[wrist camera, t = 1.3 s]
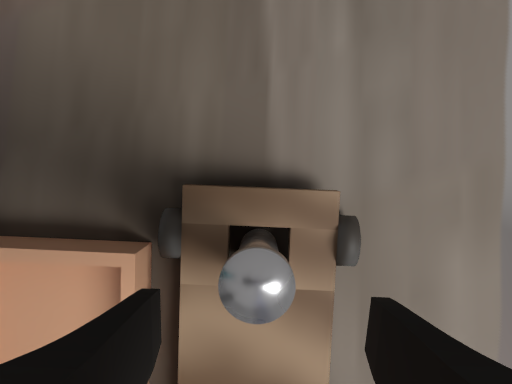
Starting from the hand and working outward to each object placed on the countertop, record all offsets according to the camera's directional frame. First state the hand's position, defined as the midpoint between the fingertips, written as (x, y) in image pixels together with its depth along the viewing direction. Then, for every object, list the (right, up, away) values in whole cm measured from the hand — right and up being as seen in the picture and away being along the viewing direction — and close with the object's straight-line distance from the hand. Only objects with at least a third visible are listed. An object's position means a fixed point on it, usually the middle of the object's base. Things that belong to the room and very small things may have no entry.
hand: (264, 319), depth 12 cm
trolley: (0, -5, +11) cm, 13 cm away
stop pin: (0, +1, +11) cm, 11 cm away
